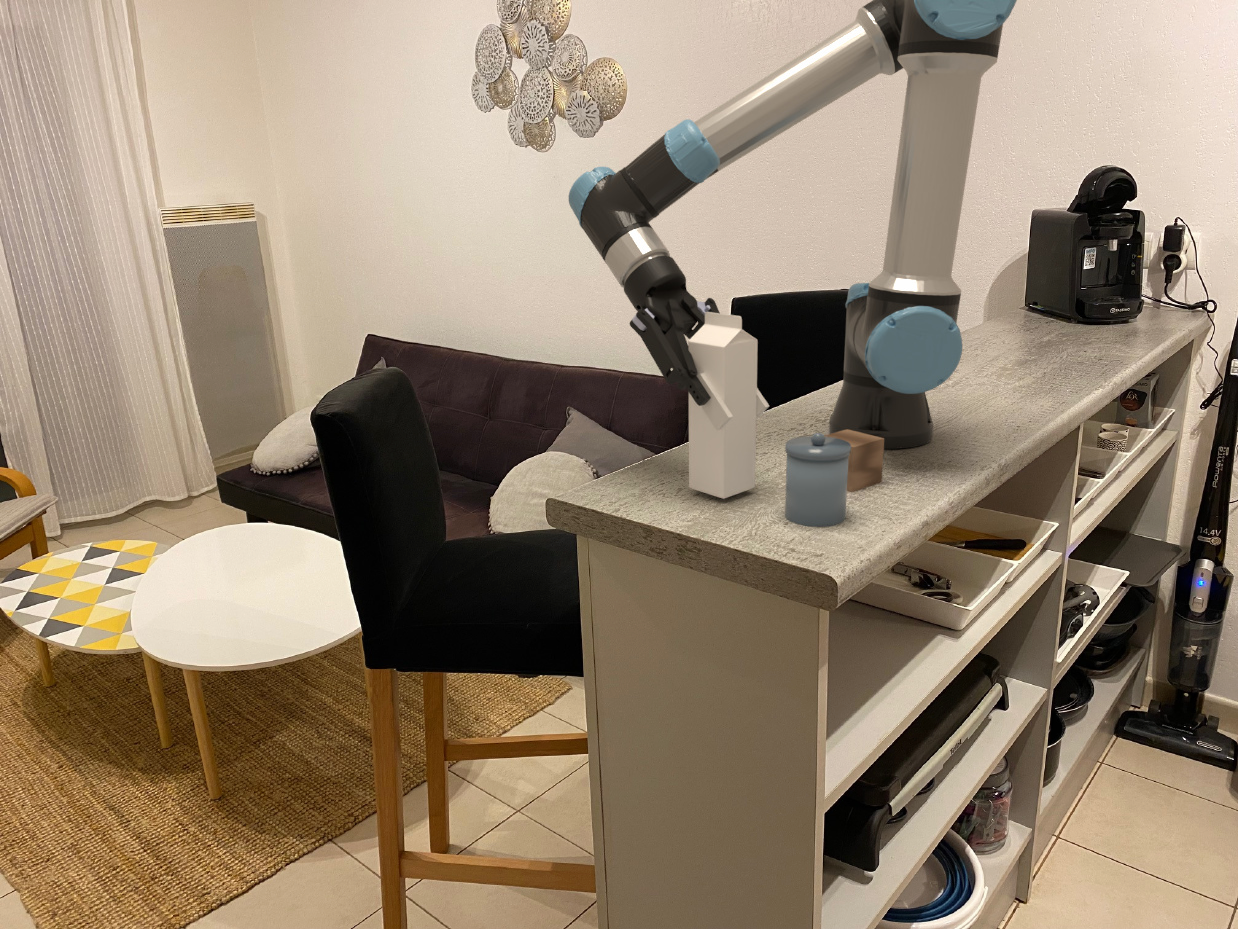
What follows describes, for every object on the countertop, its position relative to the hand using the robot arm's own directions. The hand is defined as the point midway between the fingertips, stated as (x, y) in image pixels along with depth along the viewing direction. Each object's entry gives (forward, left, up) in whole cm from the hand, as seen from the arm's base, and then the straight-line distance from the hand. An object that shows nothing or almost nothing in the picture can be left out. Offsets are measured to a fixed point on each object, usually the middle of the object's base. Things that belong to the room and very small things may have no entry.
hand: (743, 417), depth 115 cm
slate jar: (-5, +9, -10) cm, 15 cm away
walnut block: (-16, 0, -11) cm, 19 cm away
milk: (+1, -3, -10) cm, 11 cm away
